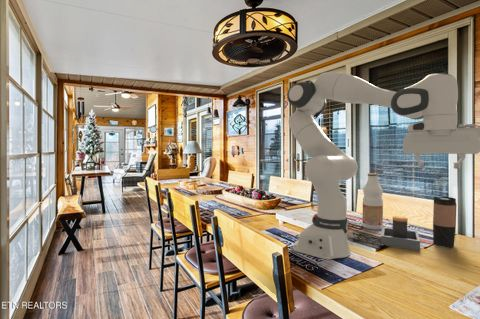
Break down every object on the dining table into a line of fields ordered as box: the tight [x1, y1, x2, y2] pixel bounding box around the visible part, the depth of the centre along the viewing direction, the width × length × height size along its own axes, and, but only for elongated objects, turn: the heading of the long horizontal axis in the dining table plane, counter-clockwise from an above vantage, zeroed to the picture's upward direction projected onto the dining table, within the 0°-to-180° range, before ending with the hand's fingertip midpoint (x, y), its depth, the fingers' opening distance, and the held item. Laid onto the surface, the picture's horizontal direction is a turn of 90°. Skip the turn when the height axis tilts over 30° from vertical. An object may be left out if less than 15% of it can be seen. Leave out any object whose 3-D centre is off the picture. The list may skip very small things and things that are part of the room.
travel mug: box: [432, 196, 457, 249], centre depth 116 cm, size 8×8×20 cm
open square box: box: [380, 226, 421, 252], centre depth 119 cm, size 14×14×4 cm
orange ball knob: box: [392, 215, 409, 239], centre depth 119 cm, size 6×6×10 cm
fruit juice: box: [362, 172, 384, 231], centre depth 141 cm, size 9×9×28 cm
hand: (438, 168), depth 88 cm, fingers open, 8 cm apart
